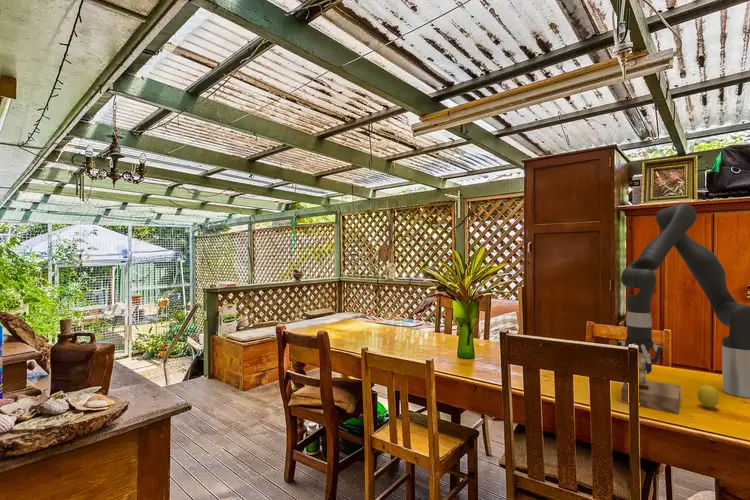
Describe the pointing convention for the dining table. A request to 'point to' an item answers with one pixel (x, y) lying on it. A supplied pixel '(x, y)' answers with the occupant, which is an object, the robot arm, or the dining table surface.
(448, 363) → the dining table surface
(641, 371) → the peg
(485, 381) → the dining table surface
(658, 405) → the board
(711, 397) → the lemon
